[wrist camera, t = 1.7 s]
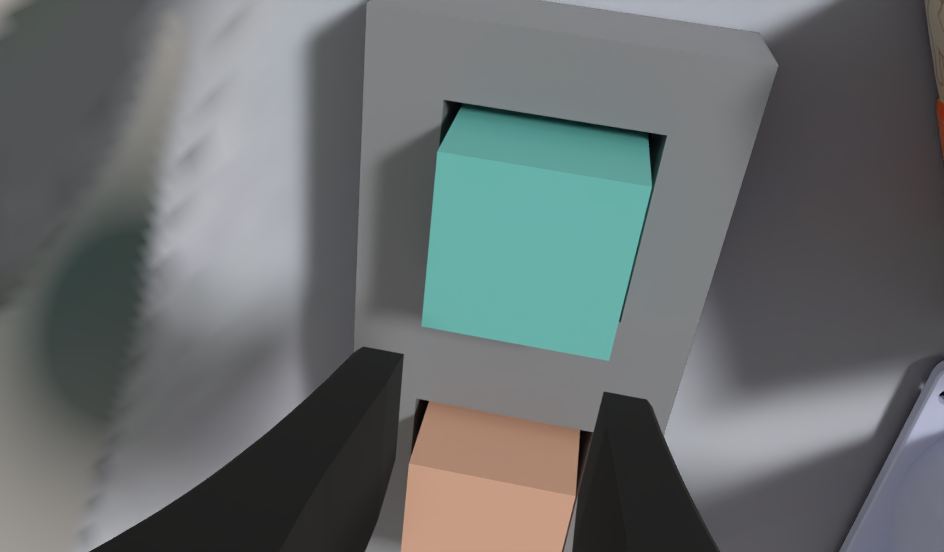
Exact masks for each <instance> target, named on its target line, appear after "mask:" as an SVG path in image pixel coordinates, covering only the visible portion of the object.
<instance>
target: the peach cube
mask: <svg viewBox="0 0 944 552" xmlns="http://www.w3.org/2000/svg"><path fill="white" fill-rule="evenodd" d="M579 438H580V430H579V429H573V428H568V427H563V426H558V425H553V424H547V423H542V422H537V421H532V420H526V419H521V418H516V417H511V416H505V415H500V414H495V413H490V412H485V411H479V410H474V409H469V408H464V407H458V406H453V405H448V404H443V403H438V402H432V401H429V403H428V406H427V409H426V412H425V415H424V418H423V422H422V425H421V428H420V431H419V434H418V437H417V440H416V443H415V446H414V449H413V452H412V455H411V458H410V462H409V468H408V479H407V490H406V501H405V512H404V523H403V534H402V545H401V552H562V549H563V545H564V541H565V537H566V533H567V529H568V525H569V521H570V517H571V513H572V509H573V505H574V501H575V497H576V482H577V468H578V453H579Z"/></svg>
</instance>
